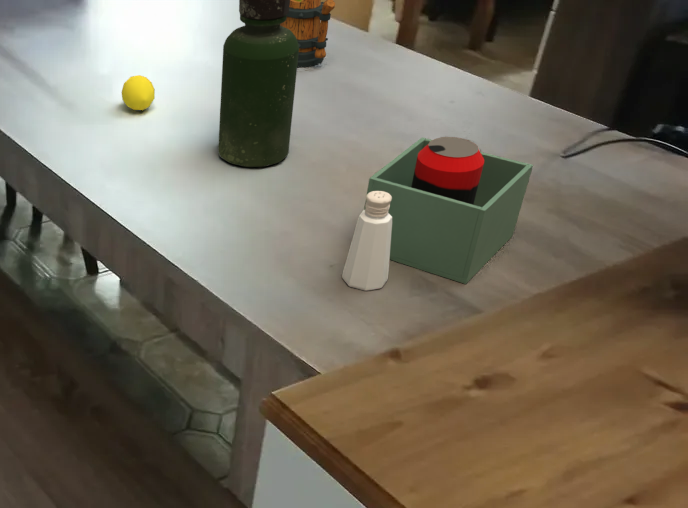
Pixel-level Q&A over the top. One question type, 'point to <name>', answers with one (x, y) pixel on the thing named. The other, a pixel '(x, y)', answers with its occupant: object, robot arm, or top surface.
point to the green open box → (451, 216)
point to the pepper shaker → (370, 245)
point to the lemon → (138, 92)
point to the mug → (309, 29)
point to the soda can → (449, 169)
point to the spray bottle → (258, 86)
